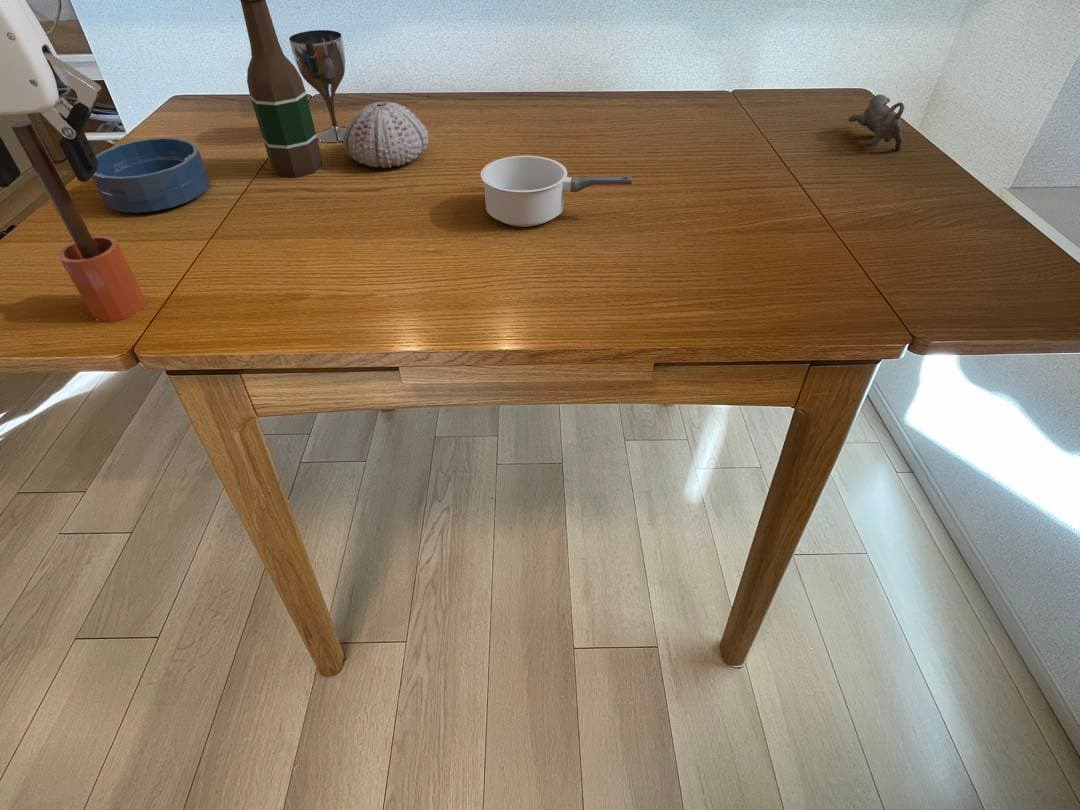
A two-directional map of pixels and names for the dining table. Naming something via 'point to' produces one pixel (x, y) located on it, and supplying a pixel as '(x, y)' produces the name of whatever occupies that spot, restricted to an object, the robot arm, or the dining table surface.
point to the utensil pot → (104, 280)
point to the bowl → (150, 175)
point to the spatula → (55, 188)
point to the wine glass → (322, 70)
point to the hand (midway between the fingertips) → (49, 177)
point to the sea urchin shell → (385, 135)
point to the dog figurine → (881, 121)
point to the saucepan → (532, 189)
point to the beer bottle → (279, 98)
